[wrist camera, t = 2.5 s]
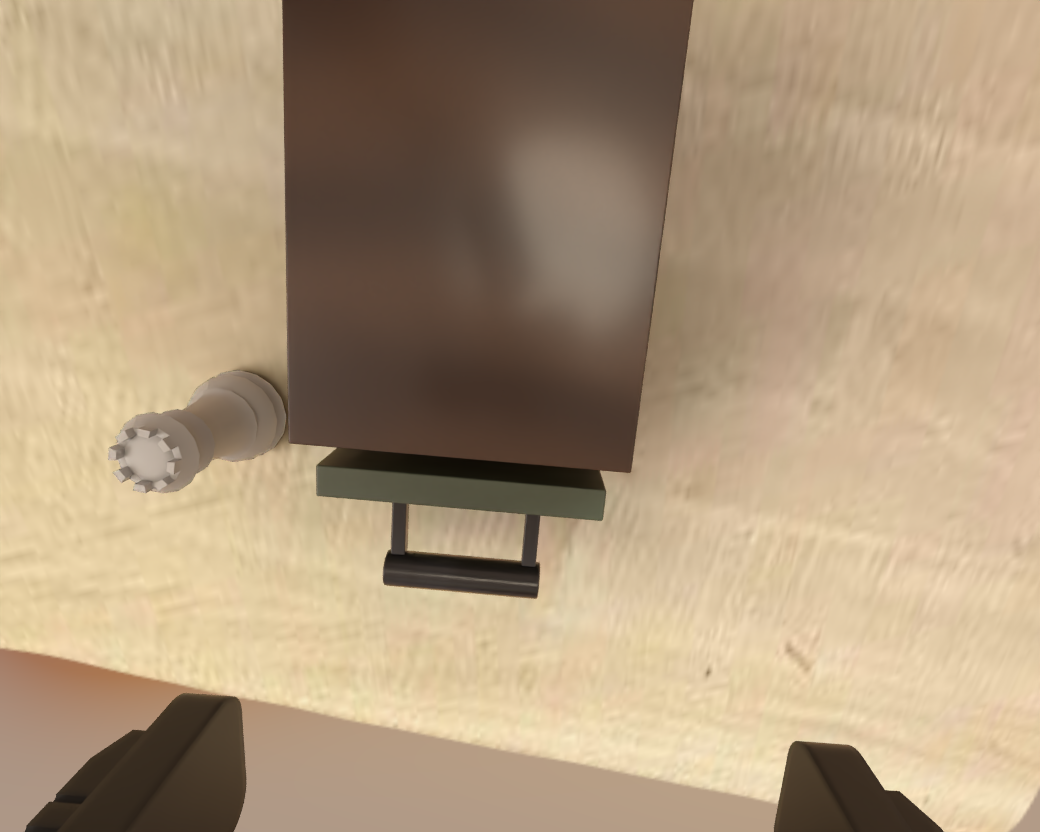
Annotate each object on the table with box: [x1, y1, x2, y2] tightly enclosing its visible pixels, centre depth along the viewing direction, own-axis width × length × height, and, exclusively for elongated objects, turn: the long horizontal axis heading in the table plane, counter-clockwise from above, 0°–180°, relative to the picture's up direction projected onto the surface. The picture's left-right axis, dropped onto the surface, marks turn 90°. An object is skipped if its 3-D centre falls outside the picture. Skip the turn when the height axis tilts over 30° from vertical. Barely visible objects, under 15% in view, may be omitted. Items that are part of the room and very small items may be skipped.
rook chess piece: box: [108, 370, 286, 493], centre depth 25 cm, size 4×4×8 cm
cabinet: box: [282, 0, 694, 473], centre depth 22 cm, size 15×12×10 cm
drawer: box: [316, 448, 606, 599], centre depth 24 cm, size 18×10×8 cm, turn 175°
